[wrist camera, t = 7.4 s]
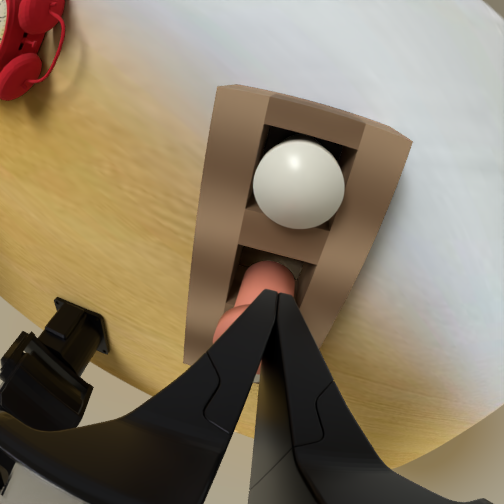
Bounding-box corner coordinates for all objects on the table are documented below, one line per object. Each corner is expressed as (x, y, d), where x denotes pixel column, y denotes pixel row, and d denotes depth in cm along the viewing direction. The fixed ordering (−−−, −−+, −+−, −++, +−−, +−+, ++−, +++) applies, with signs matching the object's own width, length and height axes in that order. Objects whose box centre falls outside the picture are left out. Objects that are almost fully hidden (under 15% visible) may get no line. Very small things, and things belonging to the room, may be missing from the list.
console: (299, 353, 27) (296, 391, 23) (197, 327, 27) (183, 363, 23) (392, 127, 16) (415, 142, 12) (236, 84, 16) (217, 86, 12)
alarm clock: (-25, -27, 7) (27, -28, 7) (26, -25, 13) (103, -13, 12) (-56, 75, 13) (-20, 134, 12) (-7, 67, 18) (51, 118, 18)
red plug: (292, 314, 19) (285, 381, 15) (230, 298, 19) (208, 362, 15) (312, 263, 17) (311, 331, 13) (241, 245, 17) (218, 308, 13)
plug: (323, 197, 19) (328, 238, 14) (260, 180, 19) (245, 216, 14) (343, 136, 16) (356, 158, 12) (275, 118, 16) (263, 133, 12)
